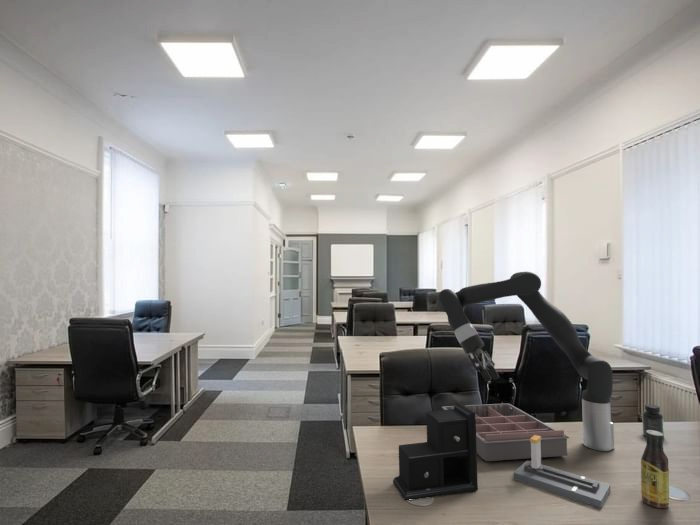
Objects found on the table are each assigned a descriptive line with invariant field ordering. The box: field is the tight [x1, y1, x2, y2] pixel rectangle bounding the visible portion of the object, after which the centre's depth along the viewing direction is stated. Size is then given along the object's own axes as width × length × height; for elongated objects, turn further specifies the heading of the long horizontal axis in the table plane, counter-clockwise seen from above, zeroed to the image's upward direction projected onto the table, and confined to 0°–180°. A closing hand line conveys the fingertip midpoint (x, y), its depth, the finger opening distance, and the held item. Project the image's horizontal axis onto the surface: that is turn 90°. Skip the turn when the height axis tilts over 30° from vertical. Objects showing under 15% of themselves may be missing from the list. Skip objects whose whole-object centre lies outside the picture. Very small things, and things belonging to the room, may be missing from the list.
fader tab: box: [530, 435, 543, 471], centre depth 127 cm, size 4×4×10 cm
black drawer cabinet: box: [392, 401, 479, 501], centre depth 122 cm, size 23×11×24 cm, turn 103°
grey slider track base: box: [513, 460, 612, 509], centre depth 122 cm, size 24×12×4 cm, turn 46°
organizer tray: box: [441, 403, 570, 462], centre depth 157 cm, size 32×40×10 cm
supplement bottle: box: [641, 404, 665, 437], centre depth 161 cm, size 7×7×12 cm
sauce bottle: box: [640, 430, 670, 509], centre depth 112 cm, size 7×6×20 cm
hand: (493, 379), depth 139 cm, fingers open, 8 cm apart
